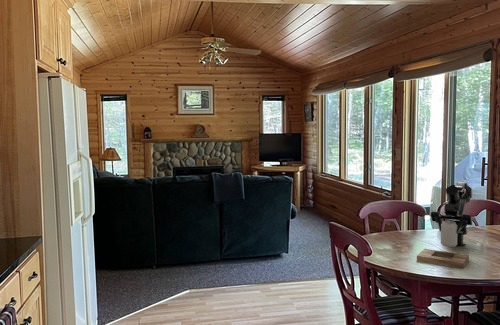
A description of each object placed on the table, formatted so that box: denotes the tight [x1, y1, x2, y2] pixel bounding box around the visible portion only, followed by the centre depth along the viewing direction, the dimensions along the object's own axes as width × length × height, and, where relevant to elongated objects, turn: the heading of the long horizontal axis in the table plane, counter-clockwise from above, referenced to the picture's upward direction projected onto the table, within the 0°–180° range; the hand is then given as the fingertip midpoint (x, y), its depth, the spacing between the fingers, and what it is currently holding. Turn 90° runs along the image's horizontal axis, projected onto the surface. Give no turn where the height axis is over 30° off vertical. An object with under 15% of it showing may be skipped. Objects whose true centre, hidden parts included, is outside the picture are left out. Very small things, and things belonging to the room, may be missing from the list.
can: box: [440, 220, 458, 248], centre depth 209 cm, size 8×8×12 cm
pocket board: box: [416, 248, 470, 269], centre depth 199 cm, size 14×20×2 cm
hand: (448, 232), depth 208 cm, fingers closed on can, 7 cm apart
